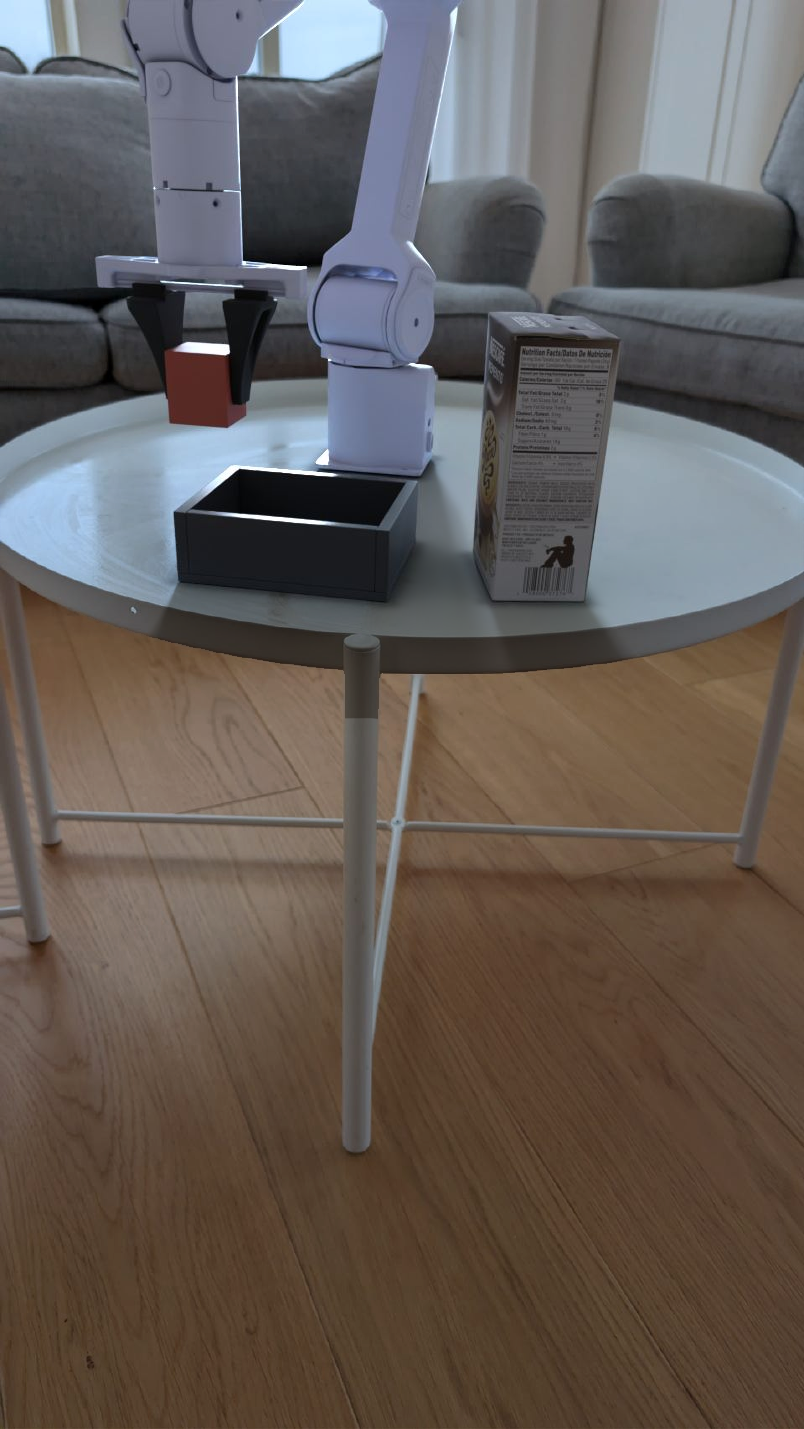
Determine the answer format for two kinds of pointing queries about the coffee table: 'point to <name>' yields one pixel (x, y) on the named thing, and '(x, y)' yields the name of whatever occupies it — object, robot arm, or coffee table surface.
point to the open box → (298, 532)
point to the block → (200, 386)
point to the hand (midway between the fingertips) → (207, 400)
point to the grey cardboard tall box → (542, 453)
